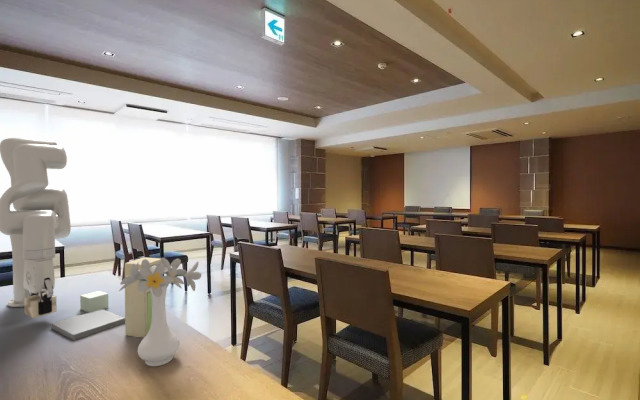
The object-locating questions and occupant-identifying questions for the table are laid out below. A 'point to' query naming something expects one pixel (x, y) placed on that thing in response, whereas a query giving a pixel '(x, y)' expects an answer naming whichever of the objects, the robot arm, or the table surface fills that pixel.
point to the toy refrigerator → (138, 303)
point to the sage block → (94, 301)
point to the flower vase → (159, 306)
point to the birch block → (32, 305)
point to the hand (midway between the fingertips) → (40, 310)
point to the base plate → (87, 324)
